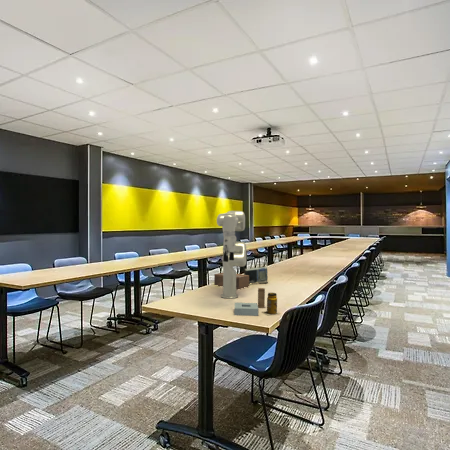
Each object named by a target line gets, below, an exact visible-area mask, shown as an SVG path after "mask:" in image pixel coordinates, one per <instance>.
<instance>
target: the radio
mask: <svg viewBox="0 0 450 450" xmlns="http://www.w3.org/2000/svg"><path fill="white" fill-rule="evenodd" d="M243 275H249V285H251V284H250V283H263V284H268V283H269V282H268V278H269V277H268V267H267V266H265V265H264V266H261V267H251V268H244V269H243Z"/></svg>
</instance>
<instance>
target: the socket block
mask: <svg viewBox="0 0 450 450" xmlns="http://www.w3.org/2000/svg"><path fill="white" fill-rule="evenodd" d="M233 313H234V316H252V317H253V316H254V317H257V316H259V308H258V302H257V303H256V302H234V312H233Z"/></svg>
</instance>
